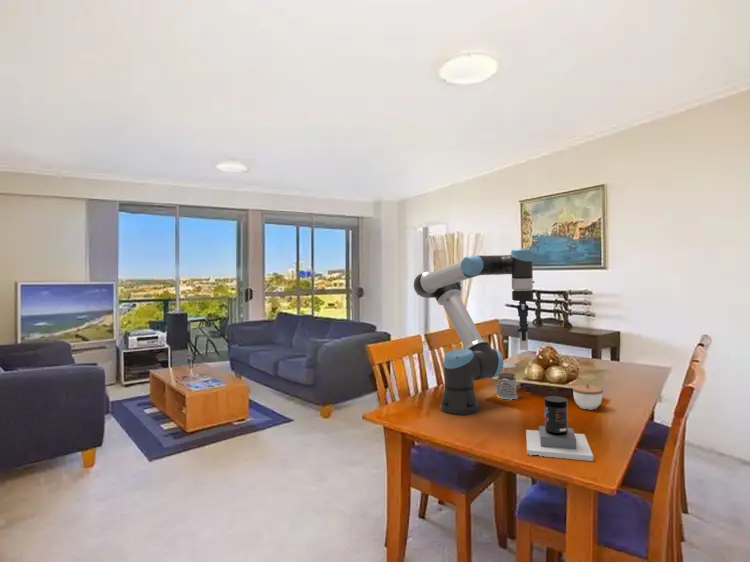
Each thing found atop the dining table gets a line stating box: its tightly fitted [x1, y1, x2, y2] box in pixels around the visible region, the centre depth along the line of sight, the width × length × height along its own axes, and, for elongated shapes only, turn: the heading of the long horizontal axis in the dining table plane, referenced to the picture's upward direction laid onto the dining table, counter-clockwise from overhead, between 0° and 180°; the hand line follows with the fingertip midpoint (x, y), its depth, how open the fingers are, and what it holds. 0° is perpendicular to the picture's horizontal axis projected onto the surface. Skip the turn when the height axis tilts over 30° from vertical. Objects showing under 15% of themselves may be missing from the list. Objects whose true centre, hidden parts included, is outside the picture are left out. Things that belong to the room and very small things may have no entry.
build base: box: [525, 425, 594, 462], centre depth 140 cm, size 18×18×4 cm
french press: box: [490, 339, 519, 401], centre depth 197 cm, size 10×12×25 cm
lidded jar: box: [572, 383, 604, 411], centre depth 179 cm, size 11×11×9 cm
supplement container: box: [543, 395, 569, 435], centre depth 140 cm, size 7×7×10 cm
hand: (523, 346), depth 168 cm, fingers open, 13 cm apart
